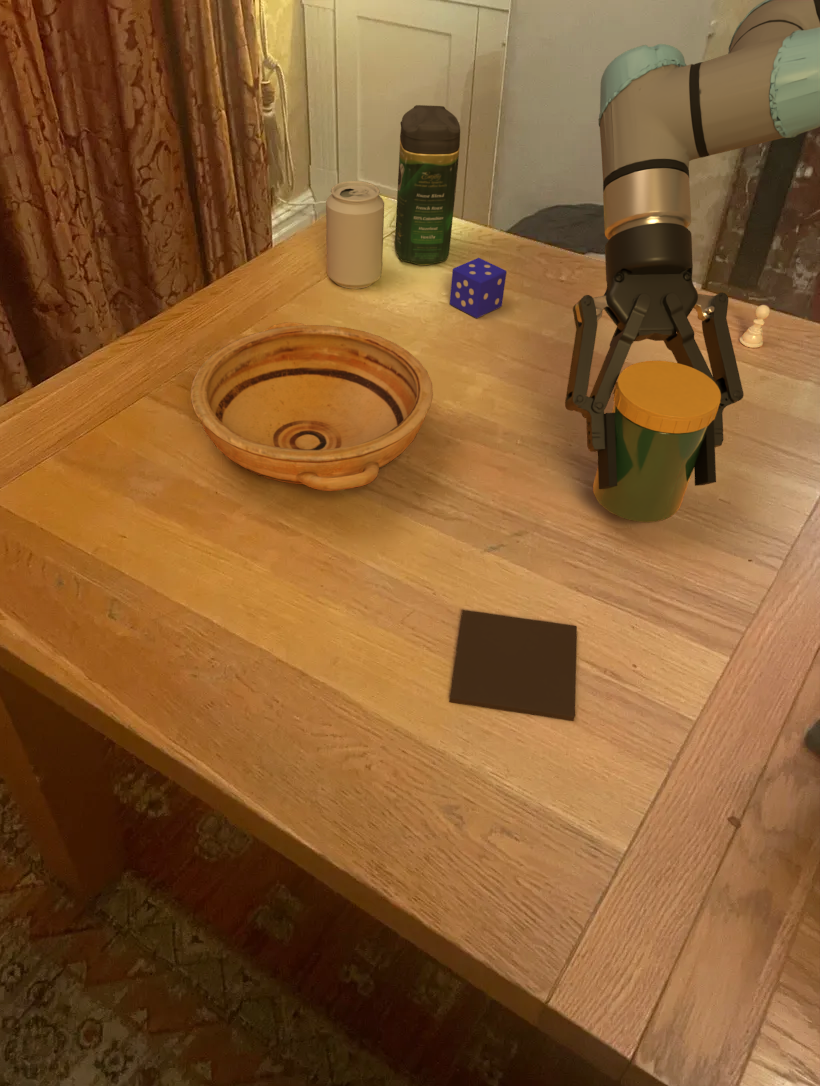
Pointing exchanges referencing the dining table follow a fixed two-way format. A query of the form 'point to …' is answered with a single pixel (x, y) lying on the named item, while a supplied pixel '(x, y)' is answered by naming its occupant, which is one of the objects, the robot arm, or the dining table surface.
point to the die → (477, 287)
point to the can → (354, 234)
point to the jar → (649, 471)
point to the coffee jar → (426, 184)
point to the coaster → (515, 665)
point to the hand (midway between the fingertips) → (656, 485)
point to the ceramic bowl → (312, 403)
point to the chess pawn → (756, 328)
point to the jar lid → (667, 396)
